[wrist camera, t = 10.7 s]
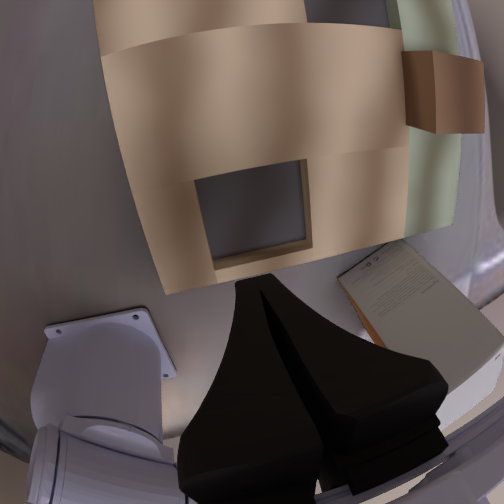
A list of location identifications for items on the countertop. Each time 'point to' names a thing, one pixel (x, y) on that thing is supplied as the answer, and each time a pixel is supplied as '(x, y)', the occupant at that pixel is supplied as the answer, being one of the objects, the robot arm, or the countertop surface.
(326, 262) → the countertop surface
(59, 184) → the countertop surface
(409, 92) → the block
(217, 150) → the board
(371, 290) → the small box
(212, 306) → the countertop surface
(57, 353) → the robot arm
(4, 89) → the countertop surface
